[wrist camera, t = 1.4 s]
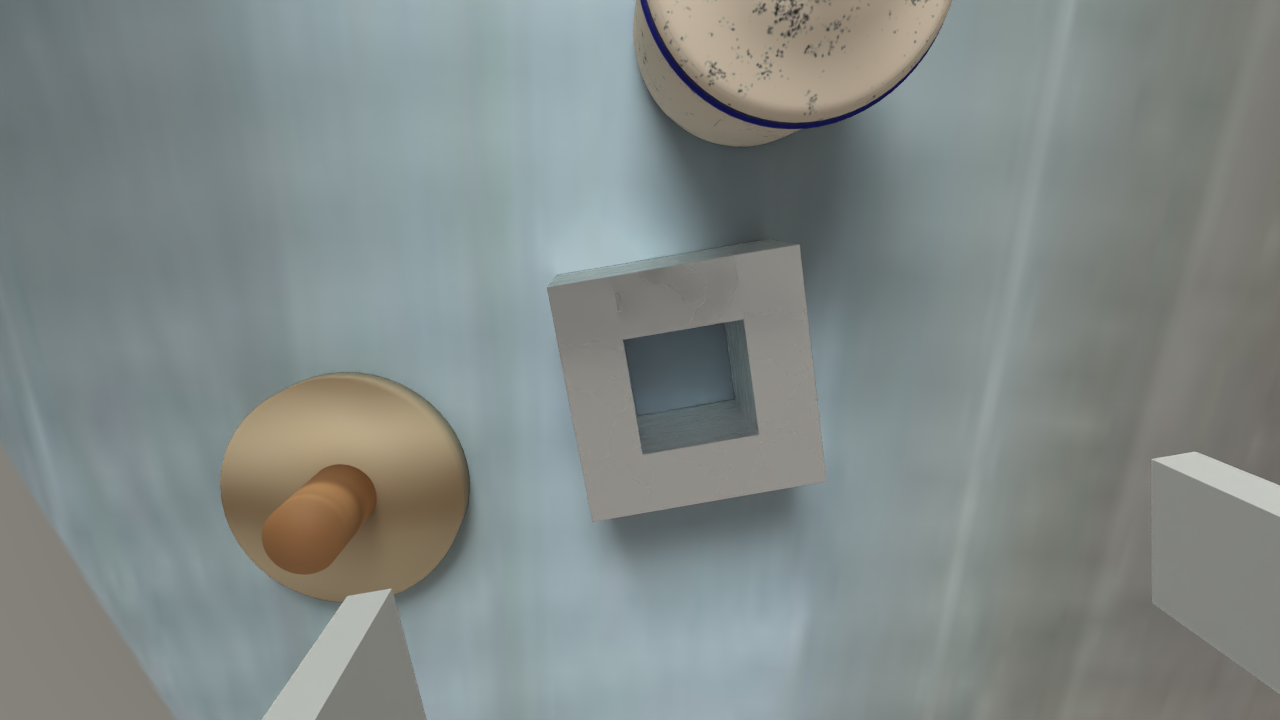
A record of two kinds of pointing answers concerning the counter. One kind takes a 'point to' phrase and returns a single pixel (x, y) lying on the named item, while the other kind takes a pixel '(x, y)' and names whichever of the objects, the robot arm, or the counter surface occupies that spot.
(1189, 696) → the counter surface
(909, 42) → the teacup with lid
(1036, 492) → the counter surface
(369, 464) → the hub
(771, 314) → the white boxy piece
